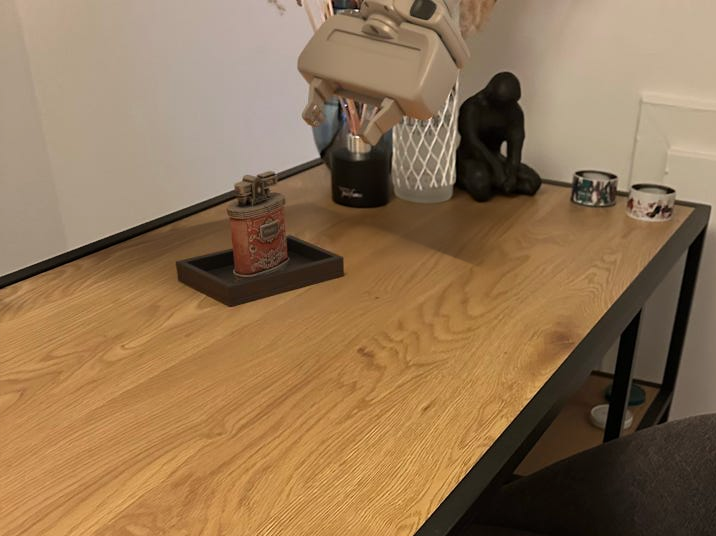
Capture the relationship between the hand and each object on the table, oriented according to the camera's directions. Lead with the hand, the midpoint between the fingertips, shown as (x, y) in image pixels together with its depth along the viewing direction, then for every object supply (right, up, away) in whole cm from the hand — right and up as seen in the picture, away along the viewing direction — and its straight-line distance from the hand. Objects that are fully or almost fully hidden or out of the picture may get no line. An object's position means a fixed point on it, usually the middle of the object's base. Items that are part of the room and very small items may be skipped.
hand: (336, 131), depth 103 cm
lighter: (-9, -15, +2) cm, 17 cm away
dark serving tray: (-9, -15, +2) cm, 18 cm away
